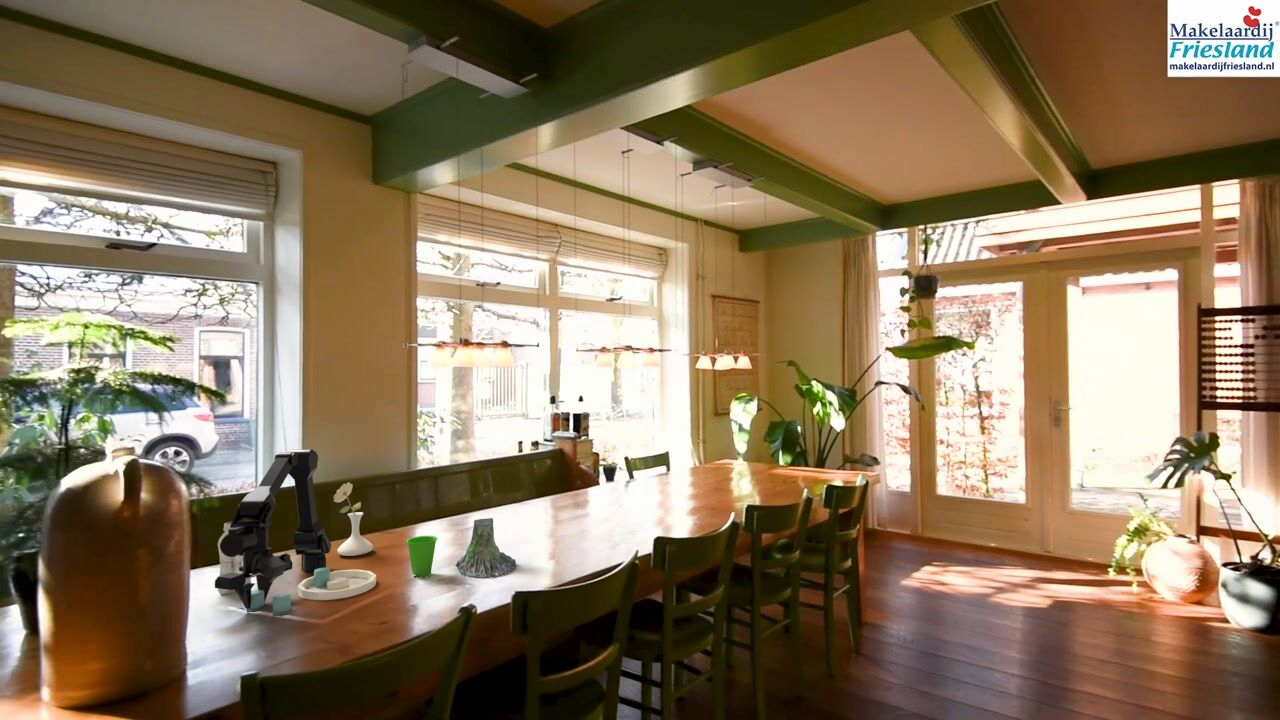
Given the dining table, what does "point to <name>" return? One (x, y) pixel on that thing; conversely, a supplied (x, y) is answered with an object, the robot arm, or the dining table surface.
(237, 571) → the plastic bottle
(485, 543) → the tree stump
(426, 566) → the cup
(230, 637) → the dining table surface
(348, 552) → the flower in vase
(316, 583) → the bead seated
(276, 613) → the bead
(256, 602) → the bead
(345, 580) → the groove tray
